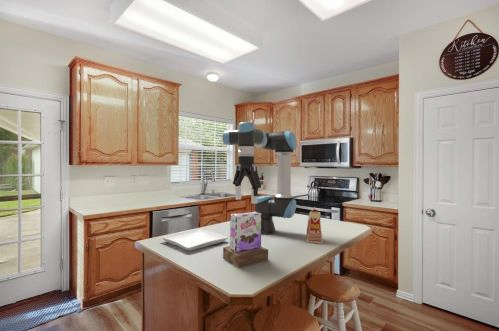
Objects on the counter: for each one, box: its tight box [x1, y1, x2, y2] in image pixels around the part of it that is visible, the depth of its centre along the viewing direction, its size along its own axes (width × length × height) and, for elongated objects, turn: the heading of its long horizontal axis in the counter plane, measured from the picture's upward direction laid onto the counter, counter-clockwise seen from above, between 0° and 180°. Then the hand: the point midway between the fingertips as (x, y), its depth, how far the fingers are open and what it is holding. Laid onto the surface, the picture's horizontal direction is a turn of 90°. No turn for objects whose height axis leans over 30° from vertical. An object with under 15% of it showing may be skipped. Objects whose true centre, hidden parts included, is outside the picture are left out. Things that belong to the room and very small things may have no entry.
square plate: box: [160, 228, 229, 251], centre depth 149 cm, size 27×27×4 cm
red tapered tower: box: [305, 206, 324, 244], centre depth 154 cm, size 9×9×20 cm
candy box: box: [229, 211, 262, 252], centre depth 124 cm, size 14×6×16 cm, turn 120°
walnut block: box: [222, 245, 269, 269], centre depth 124 cm, size 14×16×5 cm
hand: (246, 201), depth 124 cm, fingers open, 13 cm apart
